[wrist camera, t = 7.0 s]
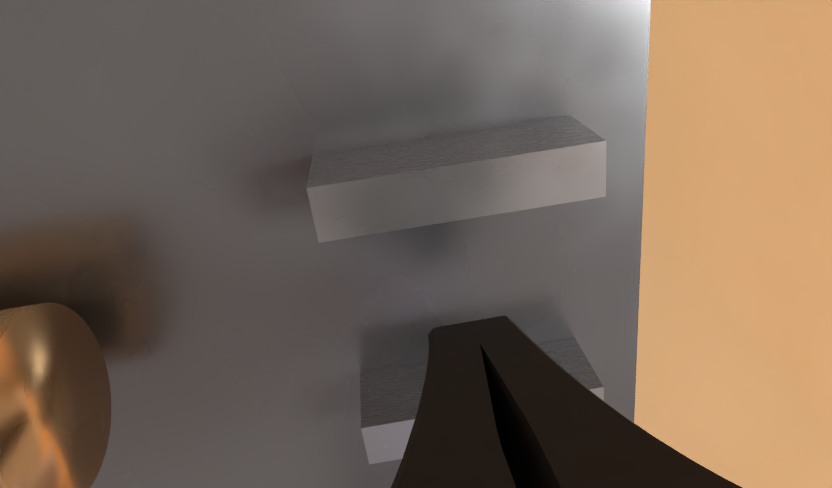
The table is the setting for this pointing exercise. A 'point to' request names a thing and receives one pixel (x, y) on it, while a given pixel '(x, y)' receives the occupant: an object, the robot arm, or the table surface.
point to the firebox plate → (318, 212)
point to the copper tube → (51, 399)
